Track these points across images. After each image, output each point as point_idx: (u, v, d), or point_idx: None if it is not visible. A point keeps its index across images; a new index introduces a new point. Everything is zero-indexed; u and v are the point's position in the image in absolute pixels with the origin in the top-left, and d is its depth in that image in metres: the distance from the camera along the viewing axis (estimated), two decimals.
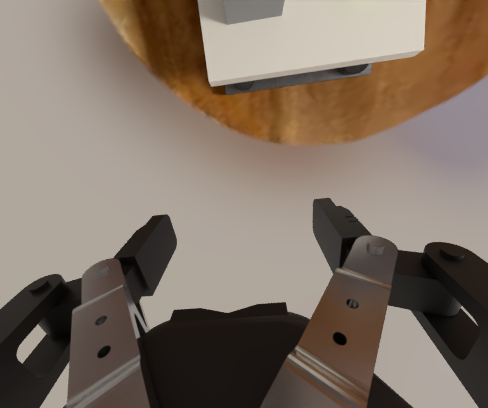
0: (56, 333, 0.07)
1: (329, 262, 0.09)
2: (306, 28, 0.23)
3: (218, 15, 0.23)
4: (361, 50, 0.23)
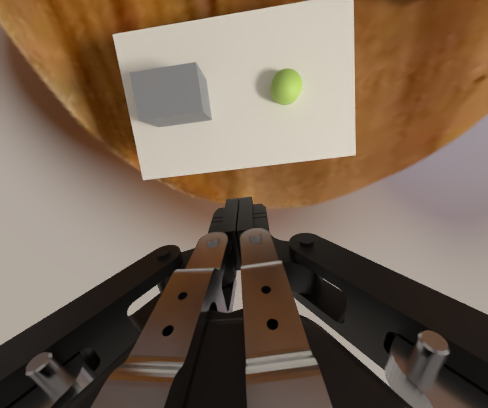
0: None
1: None
2: (237, 132, 0.23)
3: None
4: (294, 154, 0.23)
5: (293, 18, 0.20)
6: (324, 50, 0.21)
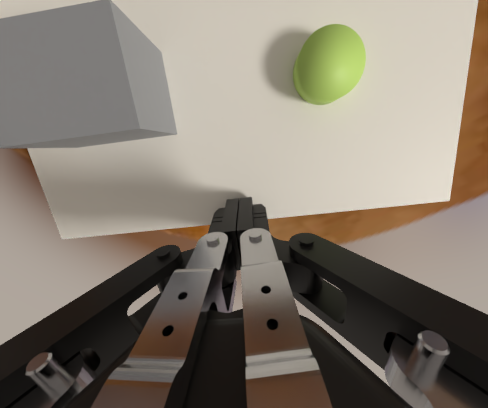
0: None
1: None
2: (227, 159, 0.12)
3: None
4: (333, 198, 0.12)
5: None
6: None
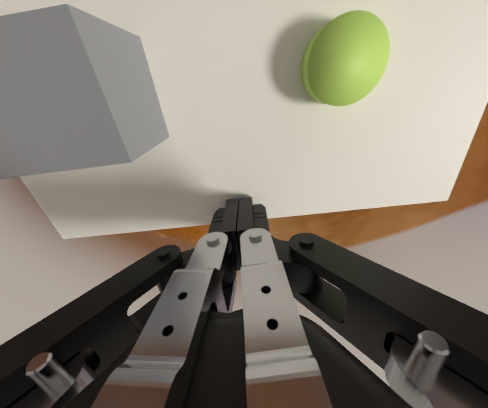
0: None
1: None
2: (226, 162, 0.11)
3: None
4: (333, 200, 0.12)
5: None
6: None
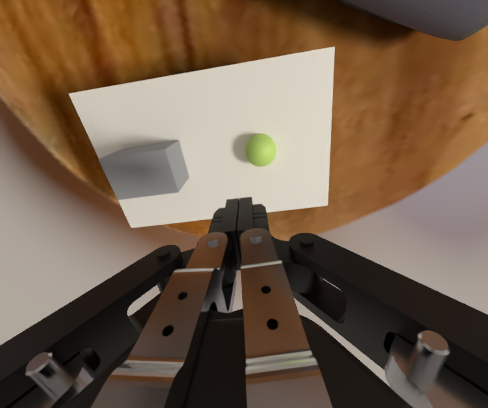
0: None
1: None
2: (215, 188, 0.23)
3: None
4: (270, 205, 0.24)
5: (267, 75, 0.18)
6: (300, 110, 0.20)
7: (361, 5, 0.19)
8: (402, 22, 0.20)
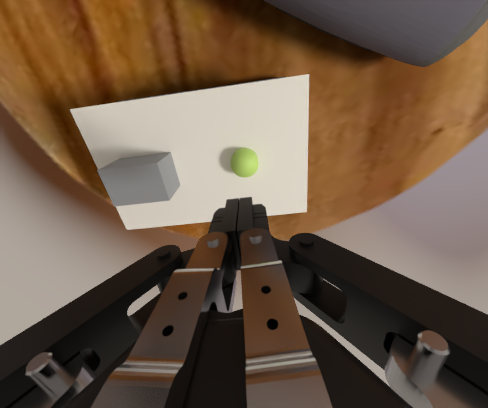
0: None
1: None
2: (204, 195, 0.26)
3: None
4: None
5: (249, 97, 0.20)
6: (280, 128, 0.22)
7: (336, 34, 0.22)
8: (373, 50, 0.22)
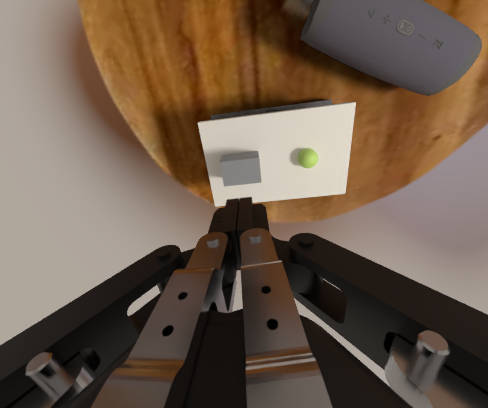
0: None
1: None
2: (275, 181, 0.37)
3: (220, 172, 0.36)
4: (308, 193, 0.38)
5: (316, 116, 0.32)
6: (333, 135, 0.33)
7: (370, 74, 0.33)
8: (394, 84, 0.34)
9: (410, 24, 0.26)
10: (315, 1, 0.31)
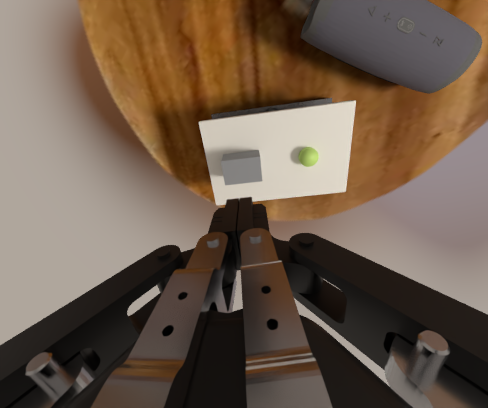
0: None
1: None
2: (276, 179, 0.37)
3: (221, 171, 0.37)
4: (309, 191, 0.38)
5: (316, 115, 0.32)
6: (334, 134, 0.33)
7: (370, 73, 0.33)
8: (394, 82, 0.34)
9: (411, 22, 0.26)
10: None
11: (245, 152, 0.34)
